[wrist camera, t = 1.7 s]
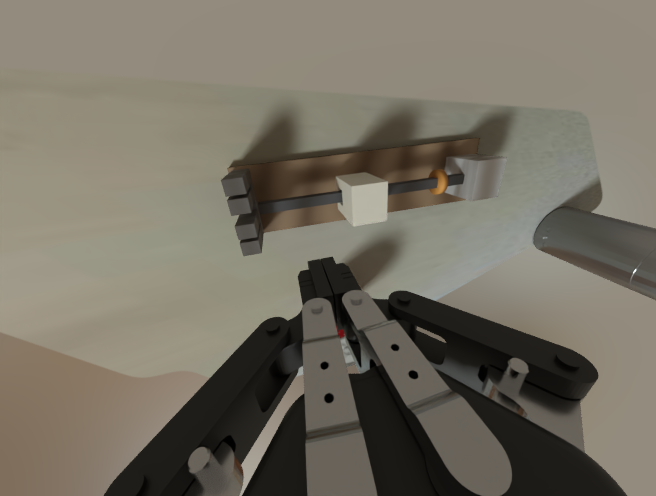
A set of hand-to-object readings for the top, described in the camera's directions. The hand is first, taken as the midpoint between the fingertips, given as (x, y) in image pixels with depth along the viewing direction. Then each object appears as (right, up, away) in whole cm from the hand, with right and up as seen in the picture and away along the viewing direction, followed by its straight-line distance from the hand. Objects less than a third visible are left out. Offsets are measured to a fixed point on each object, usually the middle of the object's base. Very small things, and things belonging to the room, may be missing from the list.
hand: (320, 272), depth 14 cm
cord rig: (+5, +11, +20) cm, 23 cm away
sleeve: (+4, +9, +17) cm, 20 cm away
